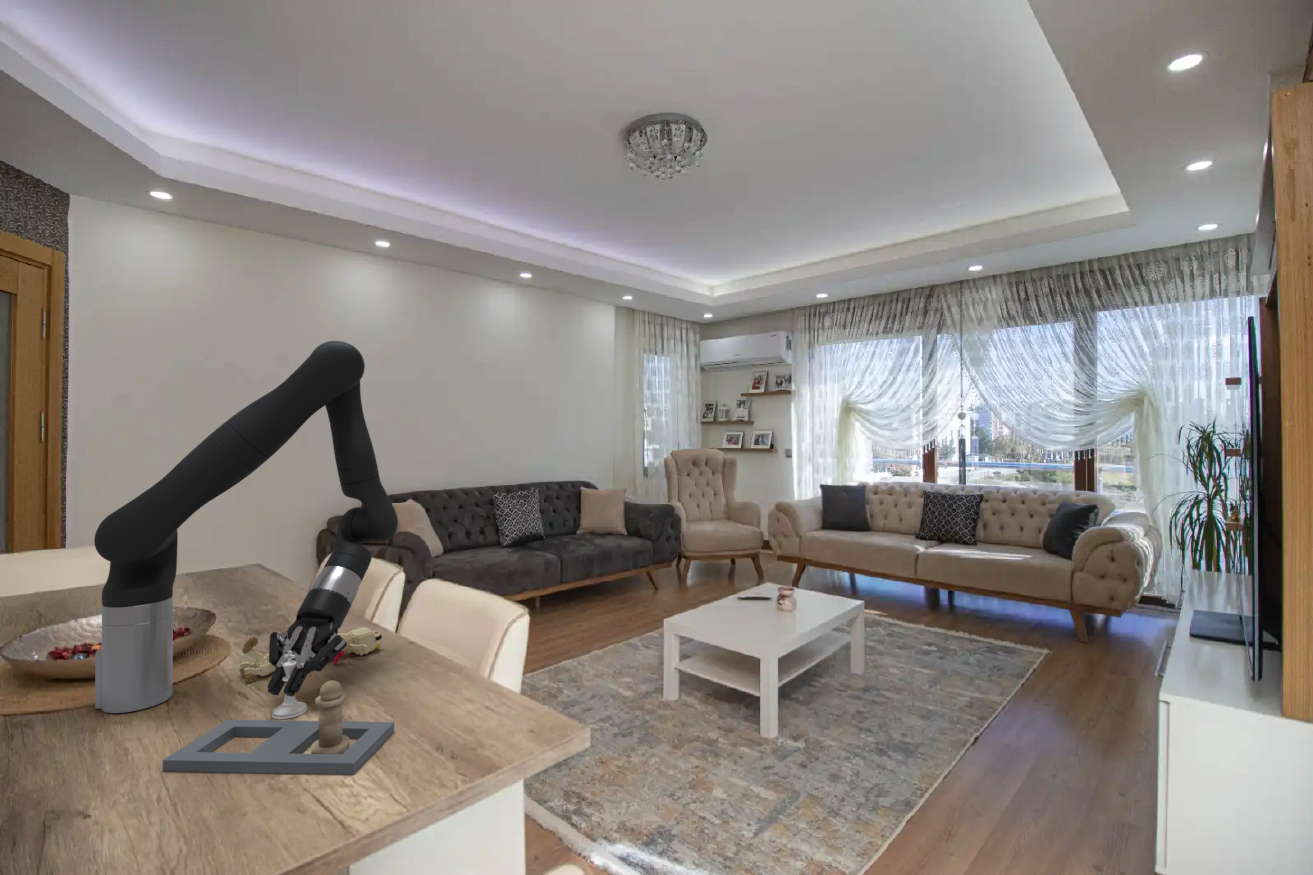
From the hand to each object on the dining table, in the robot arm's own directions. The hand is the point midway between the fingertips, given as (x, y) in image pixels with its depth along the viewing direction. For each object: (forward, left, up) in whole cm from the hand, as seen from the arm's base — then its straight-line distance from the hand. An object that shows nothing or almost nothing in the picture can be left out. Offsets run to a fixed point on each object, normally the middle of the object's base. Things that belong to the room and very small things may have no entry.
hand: (280, 693), depth 99 cm
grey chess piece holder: (+7, -10, -4) cm, 13 cm away
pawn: (+14, -10, -4) cm, 17 cm away
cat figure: (-8, +24, -4) cm, 26 cm away
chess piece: (0, +2, -4) cm, 5 cm away
